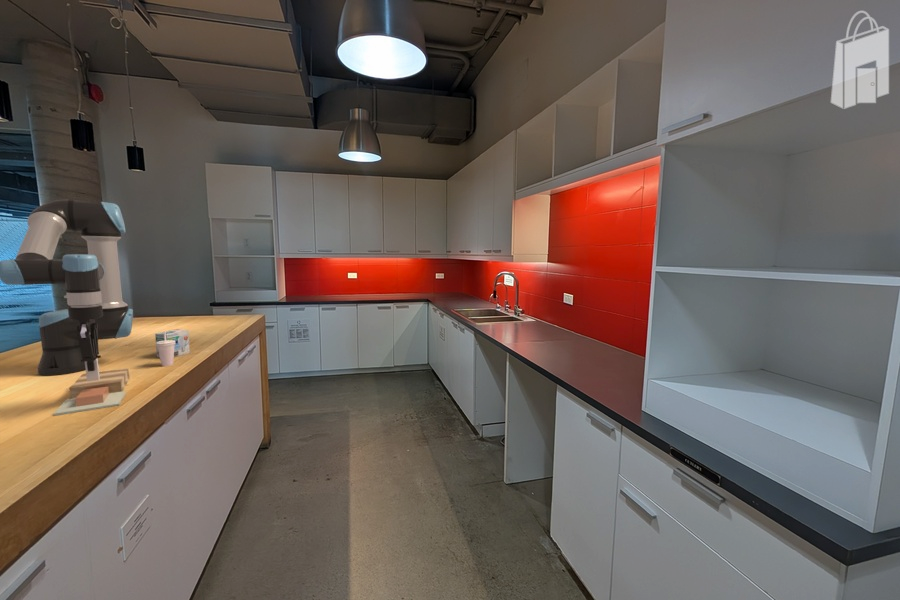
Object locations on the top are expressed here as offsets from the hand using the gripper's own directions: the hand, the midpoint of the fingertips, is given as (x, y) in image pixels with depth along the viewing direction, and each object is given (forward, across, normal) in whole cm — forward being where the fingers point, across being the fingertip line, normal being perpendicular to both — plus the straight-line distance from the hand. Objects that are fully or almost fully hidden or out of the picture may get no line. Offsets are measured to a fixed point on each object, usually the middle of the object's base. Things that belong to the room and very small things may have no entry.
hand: (93, 379), depth 117 cm
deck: (+6, -10, 0) cm, 12 cm away
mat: (+6, +4, 0) cm, 7 cm away
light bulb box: (+7, -48, +18) cm, 52 cm away
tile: (+6, +3, 0) cm, 6 cm away
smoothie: (+7, -32, +16) cm, 36 cm away
